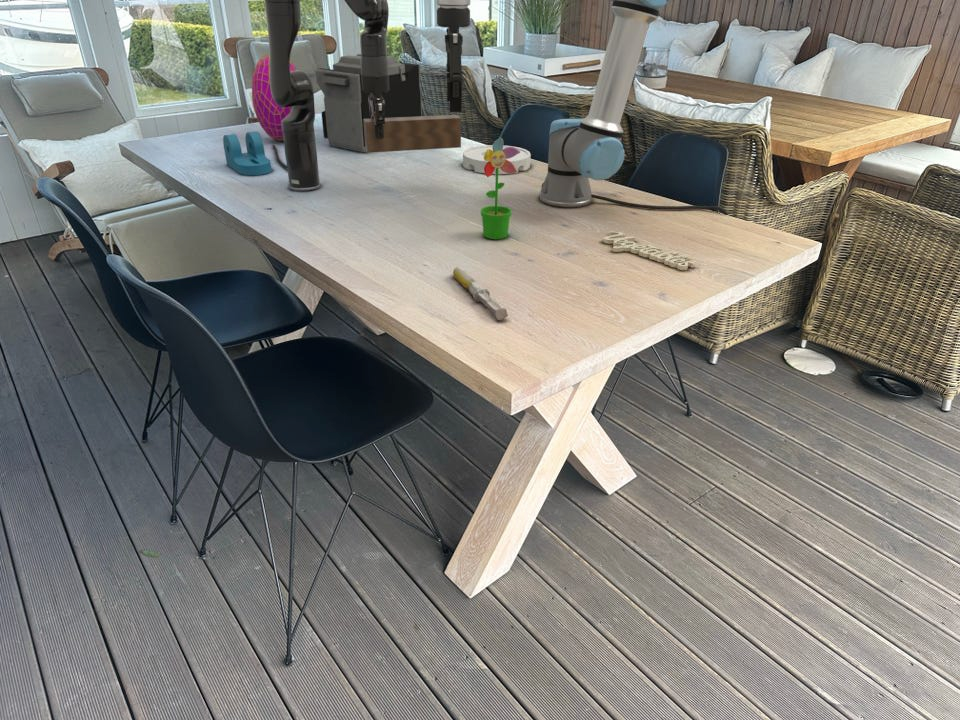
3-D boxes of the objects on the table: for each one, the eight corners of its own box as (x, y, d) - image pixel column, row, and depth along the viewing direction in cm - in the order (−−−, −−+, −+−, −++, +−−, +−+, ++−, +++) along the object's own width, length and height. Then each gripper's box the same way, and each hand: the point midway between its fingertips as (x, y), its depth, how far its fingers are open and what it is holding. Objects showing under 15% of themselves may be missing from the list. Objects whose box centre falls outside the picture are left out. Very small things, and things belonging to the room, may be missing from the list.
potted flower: (487, 243, 172) (489, 140, 159) (473, 233, 178) (473, 134, 165) (519, 237, 176) (524, 137, 163) (505, 227, 182) (508, 130, 169)
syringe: (449, 274, 155) (449, 263, 153) (465, 272, 156) (464, 260, 154) (490, 323, 135) (491, 310, 133) (508, 319, 136) (508, 307, 134)
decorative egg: (293, 132, 276) (283, 50, 261) (319, 140, 264) (310, 56, 249) (249, 139, 265) (236, 54, 250) (273, 148, 253) (261, 60, 238)
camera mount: (227, 164, 233) (221, 132, 227) (257, 160, 238) (252, 129, 233) (244, 176, 220) (239, 143, 215) (276, 172, 225) (271, 139, 220)
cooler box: (385, 129, 283) (380, 49, 267) (426, 136, 272) (424, 54, 256) (318, 145, 257) (309, 59, 242) (361, 155, 246) (354, 64, 231)
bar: (456, 143, 207) (456, 114, 203) (461, 147, 203) (461, 117, 199) (365, 148, 200) (363, 118, 196) (367, 152, 196) (365, 122, 192)
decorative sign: (589, 238, 172) (614, 230, 178) (588, 242, 173) (613, 233, 179) (677, 270, 156) (702, 259, 161) (677, 274, 156) (701, 263, 162)
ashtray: (464, 155, 246) (464, 144, 244) (529, 157, 246) (529, 145, 244) (461, 173, 226) (461, 161, 224) (531, 174, 226) (531, 162, 224)
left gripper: (357, 69, 193) (361, 131, 202) (364, 77, 181) (369, 143, 190) (384, 68, 195) (387, 130, 204) (393, 76, 183) (395, 141, 192)
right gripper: (435, 3, 164) (436, 97, 175) (438, 10, 143) (440, 116, 154) (466, 3, 165) (466, 96, 176) (474, 10, 143) (473, 116, 154)
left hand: (378, 136), depth 197 cm, fingers closed on bar, 4 cm apart
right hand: (454, 106), depth 165 cm, fingers open, 13 cm apart
